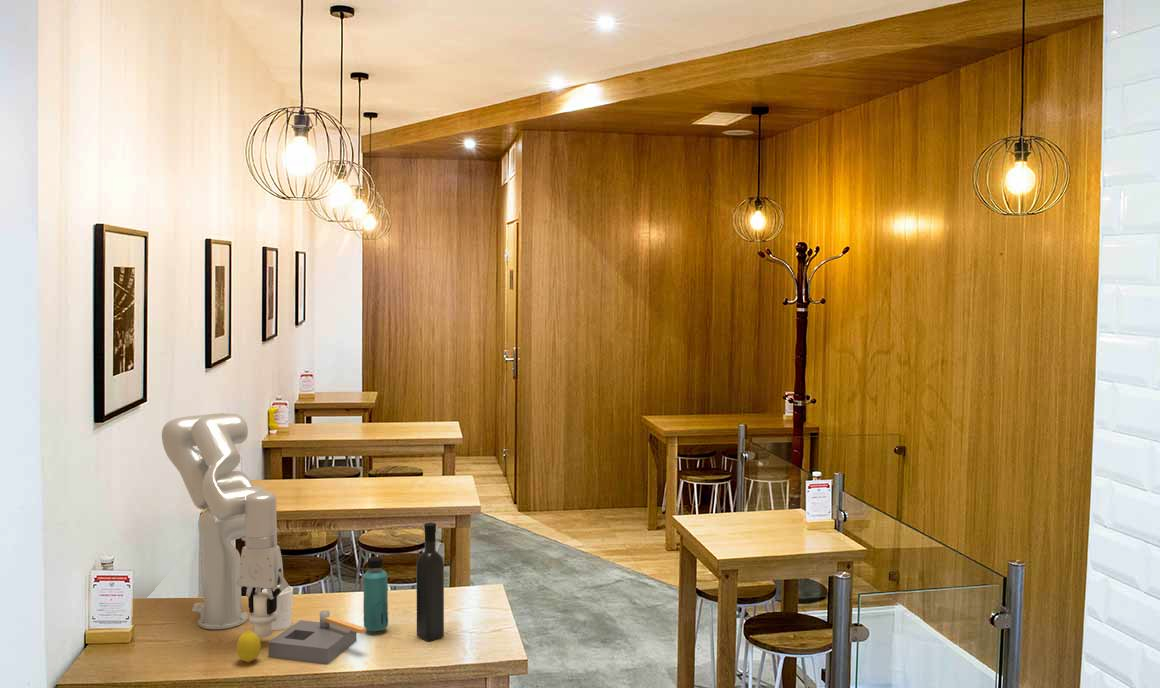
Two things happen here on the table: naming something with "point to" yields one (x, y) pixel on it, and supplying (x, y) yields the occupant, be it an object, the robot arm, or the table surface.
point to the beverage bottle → (375, 596)
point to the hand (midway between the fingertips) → (262, 611)
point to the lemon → (248, 646)
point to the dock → (311, 642)
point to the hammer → (338, 623)
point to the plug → (261, 615)
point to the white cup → (283, 609)
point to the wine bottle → (430, 589)
